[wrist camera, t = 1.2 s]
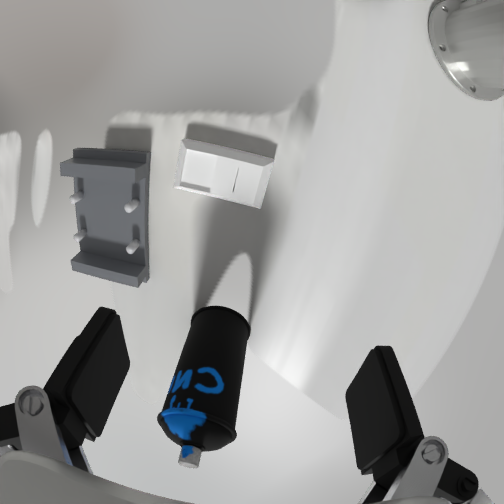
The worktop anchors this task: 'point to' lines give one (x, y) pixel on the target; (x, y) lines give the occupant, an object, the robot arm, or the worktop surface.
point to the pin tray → (111, 213)
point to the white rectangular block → (222, 172)
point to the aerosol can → (206, 384)
